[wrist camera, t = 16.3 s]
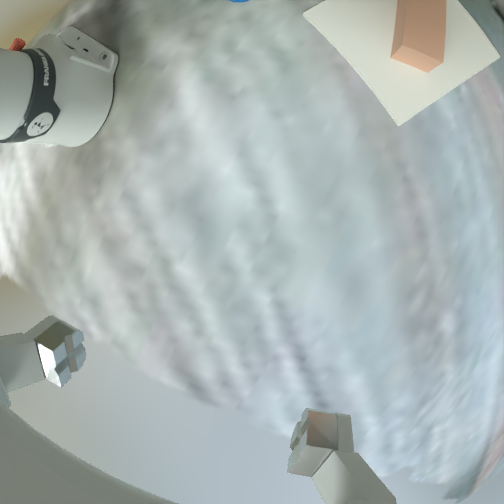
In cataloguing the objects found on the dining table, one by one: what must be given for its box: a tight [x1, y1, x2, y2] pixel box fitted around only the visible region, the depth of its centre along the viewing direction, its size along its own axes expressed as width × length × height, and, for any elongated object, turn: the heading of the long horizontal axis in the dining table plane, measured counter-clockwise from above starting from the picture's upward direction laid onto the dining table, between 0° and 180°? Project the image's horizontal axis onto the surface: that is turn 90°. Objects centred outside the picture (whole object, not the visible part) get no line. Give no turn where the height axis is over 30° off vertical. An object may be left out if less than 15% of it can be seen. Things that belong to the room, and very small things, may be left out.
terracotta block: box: [390, 0, 446, 73], centre depth 23 cm, size 5×5×12 cm
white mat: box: [303, 0, 500, 126], centre depth 25 cm, size 18×22×1 cm
